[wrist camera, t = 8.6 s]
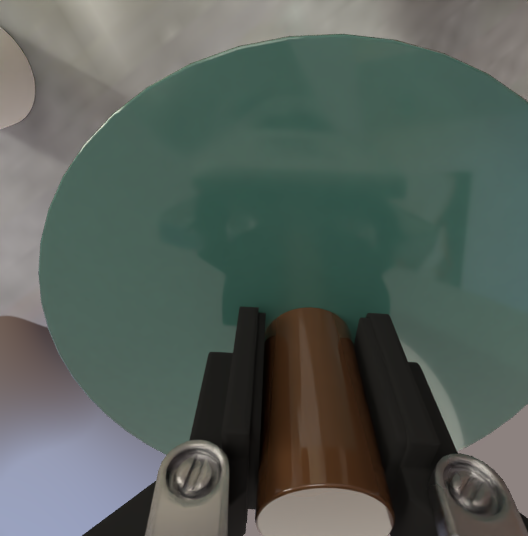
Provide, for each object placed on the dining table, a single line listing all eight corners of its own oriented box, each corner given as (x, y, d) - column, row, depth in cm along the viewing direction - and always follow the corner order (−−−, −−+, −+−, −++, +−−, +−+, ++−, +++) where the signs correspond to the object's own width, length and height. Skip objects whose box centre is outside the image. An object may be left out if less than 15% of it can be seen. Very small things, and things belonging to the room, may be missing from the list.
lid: (-59, 176, 10) (-415, 325, 5) (581, -111, 7) (1507, -557, 2) (195, 484, 18) (160, 675, 12) (564, 415, 14) (729, 634, 9)
